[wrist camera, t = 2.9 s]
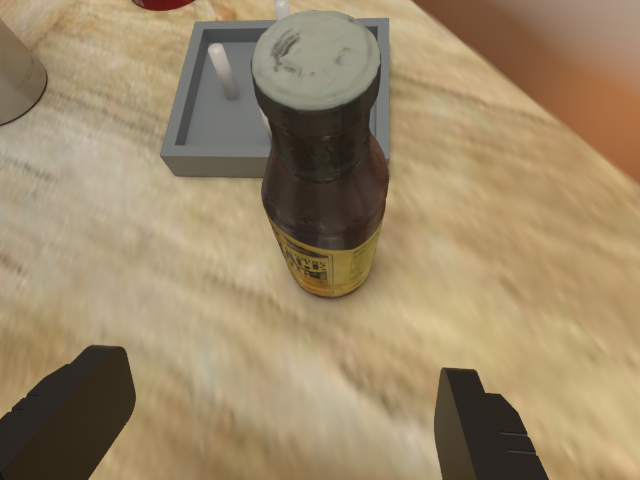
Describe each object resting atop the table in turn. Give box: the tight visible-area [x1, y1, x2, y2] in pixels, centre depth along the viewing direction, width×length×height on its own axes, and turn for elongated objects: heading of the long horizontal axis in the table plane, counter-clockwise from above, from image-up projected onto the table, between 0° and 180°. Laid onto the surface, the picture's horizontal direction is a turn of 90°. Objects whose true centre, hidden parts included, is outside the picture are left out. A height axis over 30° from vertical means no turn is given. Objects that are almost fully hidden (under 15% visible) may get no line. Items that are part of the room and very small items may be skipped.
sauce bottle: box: [250, 10, 389, 298], centre depth 21 cm, size 6×6×20 cm
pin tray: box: [160, 0, 389, 178], centre depth 34 cm, size 18×15×6 cm
